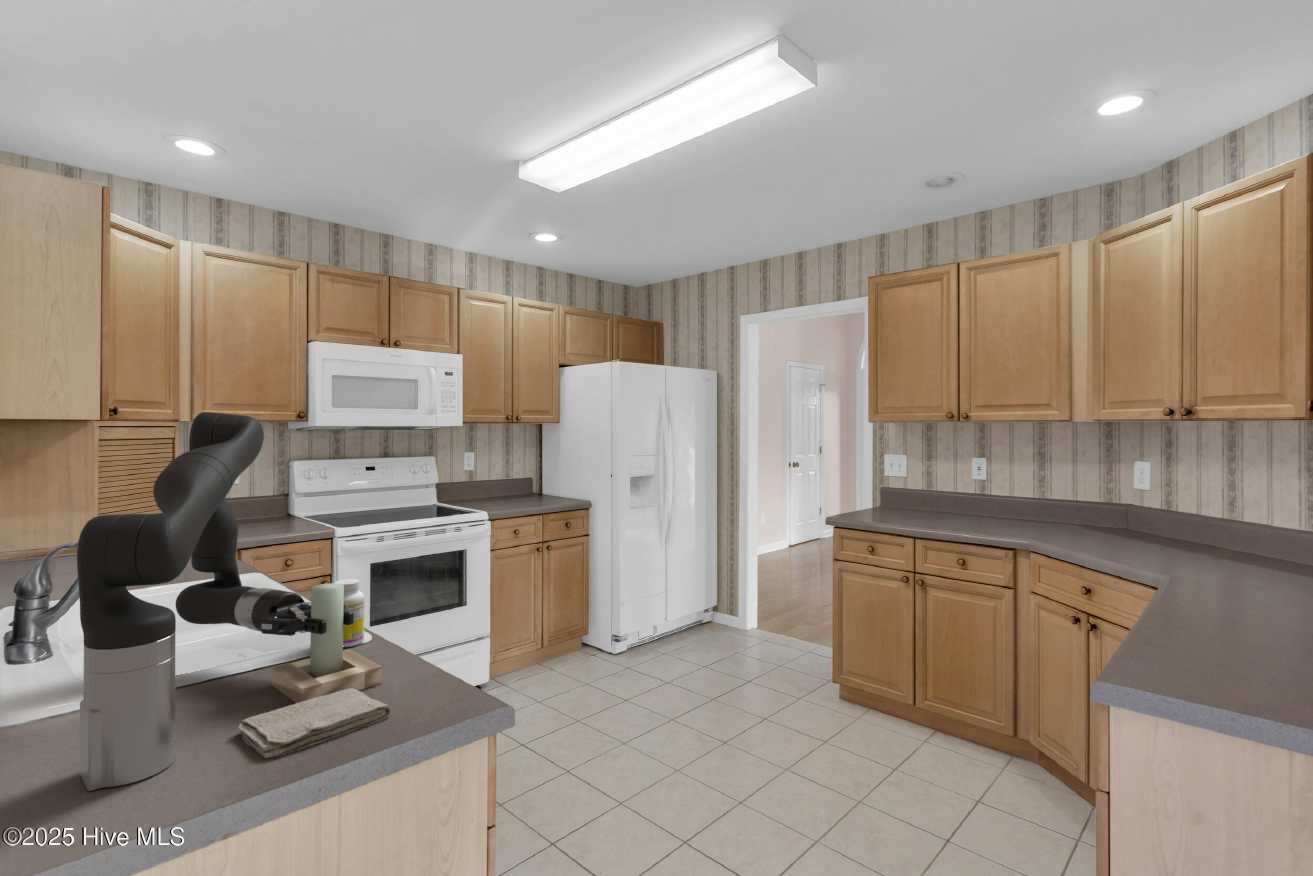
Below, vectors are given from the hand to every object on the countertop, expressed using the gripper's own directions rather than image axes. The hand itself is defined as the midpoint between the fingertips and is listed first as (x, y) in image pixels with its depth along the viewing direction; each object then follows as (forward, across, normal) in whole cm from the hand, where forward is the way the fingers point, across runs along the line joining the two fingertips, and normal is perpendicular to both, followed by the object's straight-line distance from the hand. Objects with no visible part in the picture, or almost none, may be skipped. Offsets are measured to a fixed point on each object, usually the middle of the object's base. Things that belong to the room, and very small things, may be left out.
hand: (338, 623), depth 110 cm
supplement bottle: (-17, +17, +11) cm, 26 cm away
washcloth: (+9, -11, +12) cm, 19 cm away
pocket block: (-3, 0, +11) cm, 11 cm away
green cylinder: (-3, 0, +9) cm, 9 cm away
